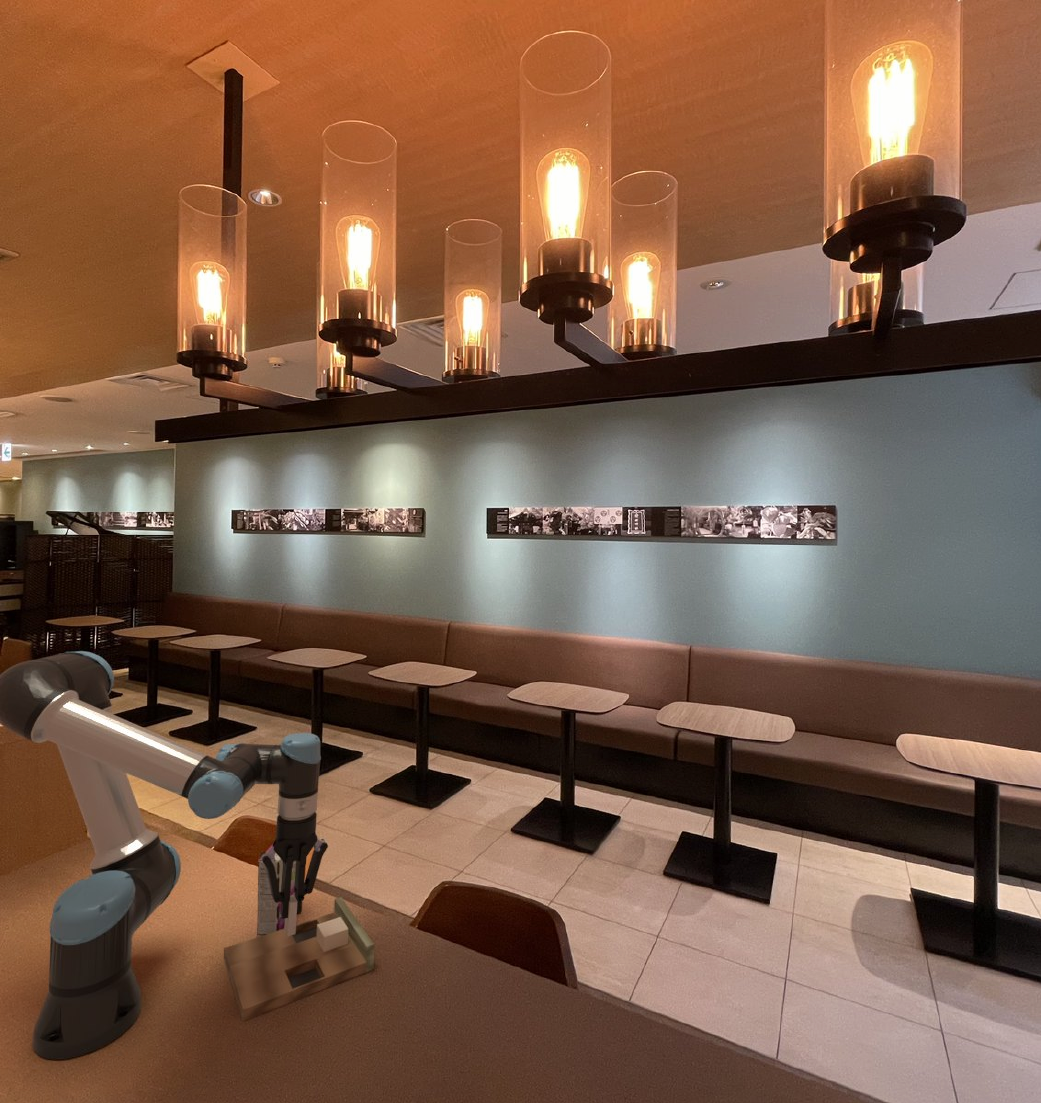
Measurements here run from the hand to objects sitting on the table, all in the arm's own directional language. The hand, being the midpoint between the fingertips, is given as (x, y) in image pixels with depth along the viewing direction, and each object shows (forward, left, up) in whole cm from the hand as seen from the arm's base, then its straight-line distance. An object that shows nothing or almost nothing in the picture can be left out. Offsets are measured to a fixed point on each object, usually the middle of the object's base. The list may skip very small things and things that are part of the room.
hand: (289, 931), depth 118 cm
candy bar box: (+2, +17, -7) cm, 18 cm away
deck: (+2, 0, -7) cm, 7 cm away
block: (+9, 0, -5) cm, 10 cm away
